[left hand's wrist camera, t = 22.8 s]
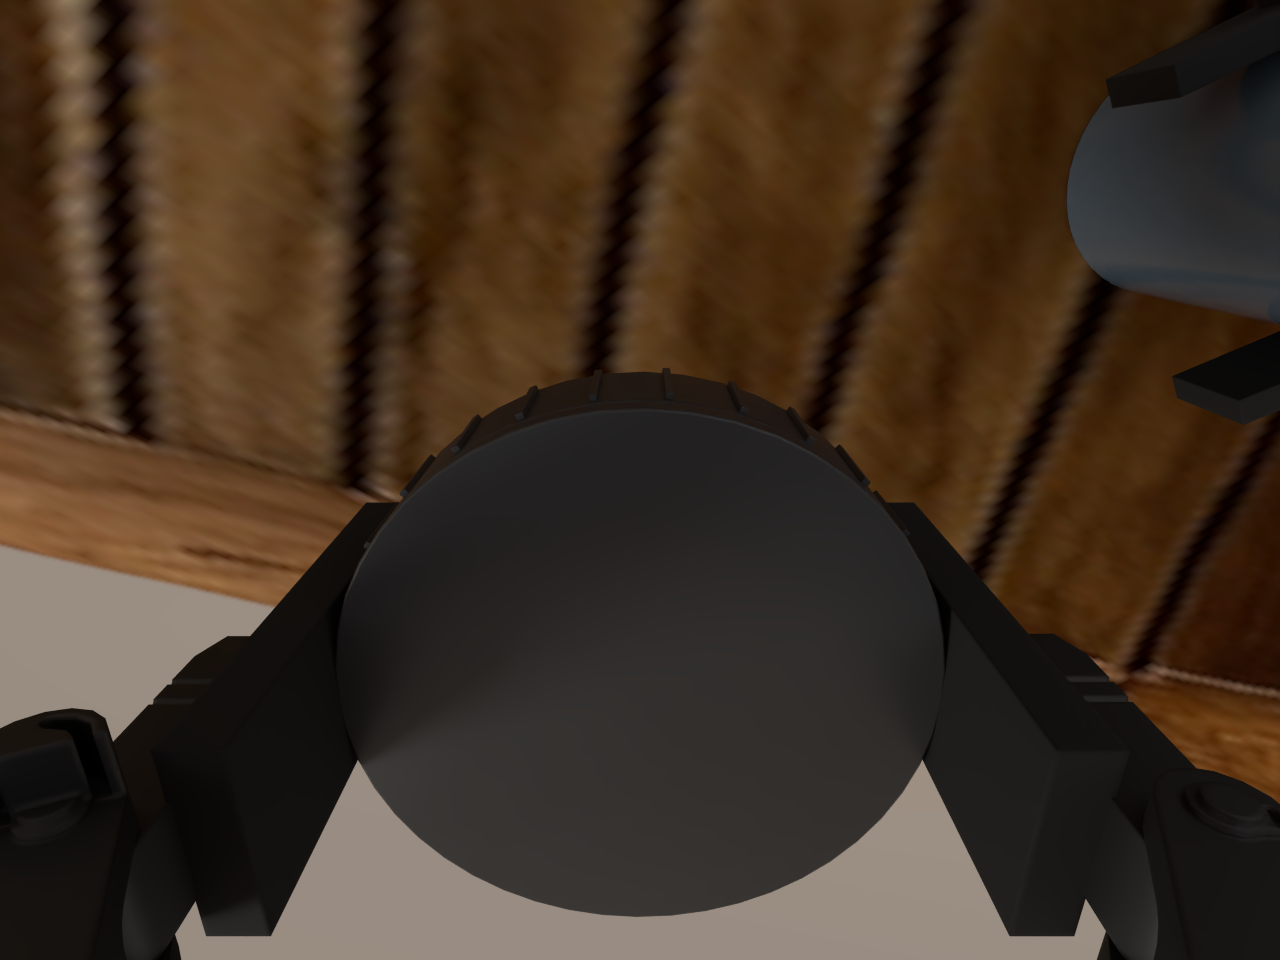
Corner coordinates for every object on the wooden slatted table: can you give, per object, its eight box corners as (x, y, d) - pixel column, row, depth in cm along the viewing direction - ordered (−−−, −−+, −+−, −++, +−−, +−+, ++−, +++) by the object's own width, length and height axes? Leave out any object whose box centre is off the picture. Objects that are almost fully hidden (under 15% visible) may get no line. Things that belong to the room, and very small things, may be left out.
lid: (289, 445, 11) (221, 495, 9) (863, 301, 11) (910, 324, 9) (477, 860, 14) (453, 960, 13) (930, 772, 14) (976, 865, 12)
